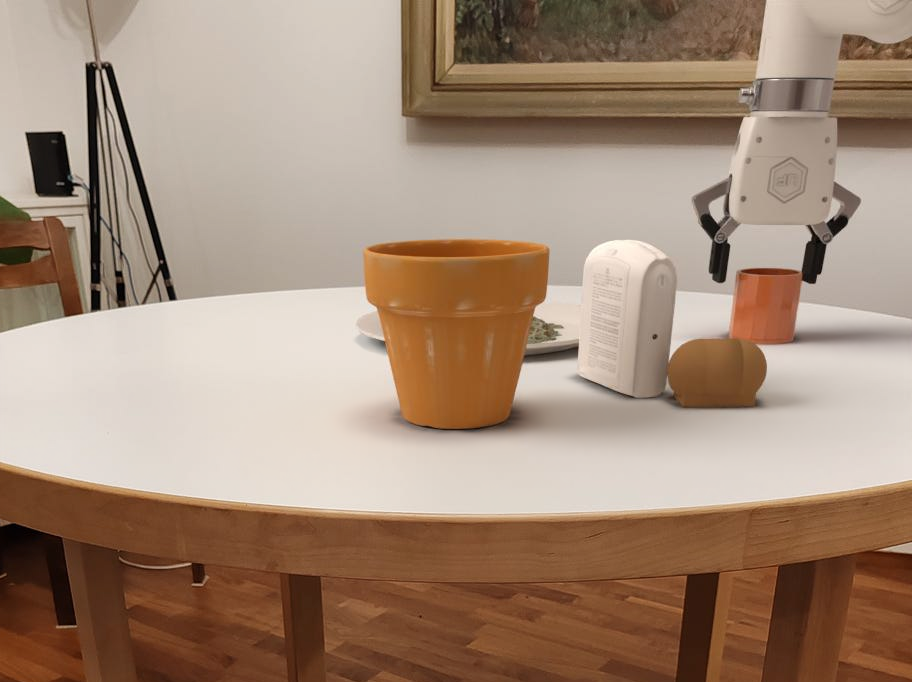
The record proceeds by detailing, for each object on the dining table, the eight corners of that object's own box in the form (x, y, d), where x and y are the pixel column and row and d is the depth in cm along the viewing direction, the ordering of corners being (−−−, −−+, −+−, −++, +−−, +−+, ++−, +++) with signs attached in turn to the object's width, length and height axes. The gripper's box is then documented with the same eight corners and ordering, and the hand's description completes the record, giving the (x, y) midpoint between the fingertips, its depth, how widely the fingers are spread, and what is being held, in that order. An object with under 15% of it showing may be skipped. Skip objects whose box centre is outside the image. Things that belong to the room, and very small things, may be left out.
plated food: (655, 324, 117) (657, 294, 116) (566, 375, 94) (567, 338, 92) (432, 309, 130) (432, 282, 128) (304, 350, 106) (302, 318, 105)
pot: (782, 332, 112) (791, 267, 108) (801, 344, 106) (812, 275, 102) (722, 333, 112) (729, 268, 108) (737, 345, 106) (746, 276, 102)
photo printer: (673, 395, 86) (688, 244, 80) (631, 401, 84) (644, 247, 79) (609, 373, 94) (619, 234, 89) (570, 377, 93) (577, 236, 87)
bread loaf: (752, 393, 86) (761, 332, 84) (770, 408, 82) (779, 344, 79) (659, 394, 86) (664, 333, 84) (671, 409, 82) (677, 345, 79)
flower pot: (426, 389, 89) (424, 235, 83) (570, 407, 83) (579, 241, 77) (335, 425, 79) (325, 252, 73) (492, 449, 72) (495, 261, 66)
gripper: (713, 100, 95) (690, 286, 103) (893, 101, 95) (856, 287, 103) (696, 101, 101) (675, 276, 109) (863, 102, 101) (831, 277, 109)
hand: (763, 281), depth 106 cm, fingers open, 9 cm apart
